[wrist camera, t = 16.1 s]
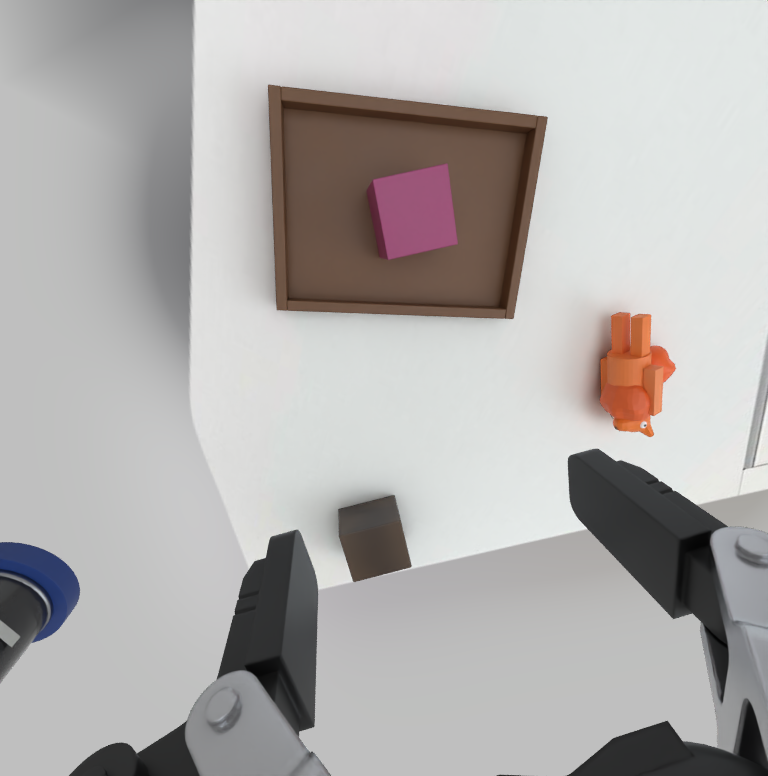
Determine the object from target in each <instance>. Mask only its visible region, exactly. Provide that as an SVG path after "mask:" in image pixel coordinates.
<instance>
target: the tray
mask: <svg viewBox="0 0 768 776" xmlns="http://www.w3.org/2000/svg"><path fill="white" fill-rule="evenodd" d="M268 97H269V123H270V149H271V175H272V201H273V227H274V254H275V280H276V306H277V310H288V311H314V312H341V313H367V314H394V315H421V316H448V317H474V318H501V319H504V318H505V319H513V318H514V313H515V307H516V301H517V295H518V289H519V283H520V277H521V271H522V266H523V260H524V254H525V248H526V242H527V236H528V230H529V224H530V219H531V213H532V207H533V201H534V195H535V189H536V183H537V177H538V171H539V166H540V160H541V154H542V148H543V142H544V136H545V130H546V124H547V119H548V117H544V116H536V115H527V114H518V113H510V112H501V111H492V110H483V109H475V108H466V107H457V106H448V105H440V104H431V103H422V102H413V101H404V100H396V99H387V98H378V97H369V96H361V95H352V94H343V93H334V92H326V91H317V90H308V89H299V88H290V87H280V86H275V85H268ZM446 163H447V164H448V170H449V178H450V186H451V194H452V202H453V210H454V218H455V225H456V233H457V241H458V244H457V245H452V246H448V247H443V248H439V249H435V250H430V251H426V252H421V253H417V254H412V255H408V256H404V257H399V258H395V259H390V260H387V259H382V258H380V257H379V252H378V247H377V242H376V237H375V232H374V227H373V222H372V217H371V212H370V207H369V202H368V197H367V192H366V190H367V189H368V187H369V185H370V183H371V182H372V180H373V179H377V178H382V177H386V176H391V175H395V174H400V173H405V172H409V171H414V170H419V169H423V168H428V167H432V166H437V165H442V164H446Z"/></svg>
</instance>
